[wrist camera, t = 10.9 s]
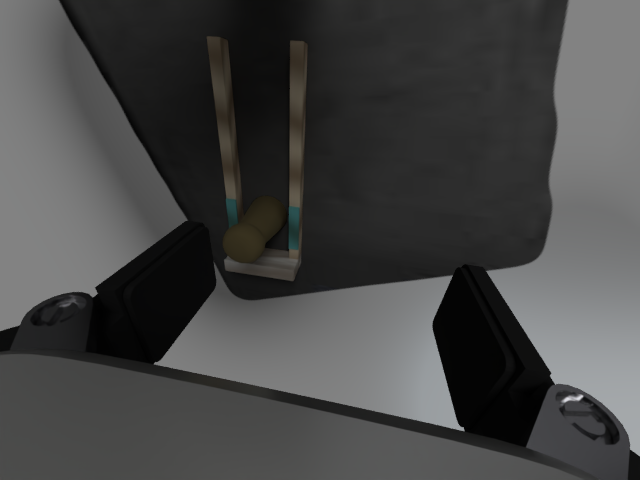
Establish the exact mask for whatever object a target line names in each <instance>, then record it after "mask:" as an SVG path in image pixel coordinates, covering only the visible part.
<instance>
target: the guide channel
mask: <svg viewBox="0 0 640 480" xmlns="http://www.w3.org/2000/svg"><path fill="white" fill-rule="evenodd" d="M207 44H208V52H209V60H210V68H211V76H212V84H213V92H214V100H215V109H216V117H217V125H218V133H219V141H220V149H221V157H222V165H223V174H224V182H225V190H226V206H227V214H228V222H229V228H230V227H231V226H233V225H236V224H238V223H240V221H241V220H242V218H243V216H244V212H243V201H242V190H241V179H240V168H239V157H238V146H237V135H236V124H235V113H234V102H233V91H232V80H231V69H230V58H229V47H228V40H226V39H224V38H221V37H210V36H207ZM307 49H308V44H307V43H305V42H304V41H290V189H289V251H284V250H277V249H270V248H265V249H264V251H263V253H262V255H261V257H259V258H258V259H257V260H256V261H254V262H251V263H239V262H236V261H234V260H232V259H231V258H230V257H229V256H227V258H226V259H225V260H224V262H225V269H226V271H231V272H238V273H244V274H251V275H257V276H264V277H270V278H277V279H283V280H289V281H294V279H295V276H296V274H297V271H298V269H299V266H300V264H301V242H302V210H303V178H304V146H305V114H306V81H307Z"/></svg>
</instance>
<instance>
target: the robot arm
mask: <svg viewBox="0 0 640 480" xmlns="http://www.w3.org/2000/svg"><path fill="white" fill-rule="evenodd" d="M215 286H216V276H215V269H214V263H213V256H212V249H211V243H210V236H209V230H208V228H206V227H205V226H204V224H203V223H199V222H193V221H185V222H184V223H182V224H181V225H180V226H178V227H177V228H176V229H174V230H173V231H172V232H170V233H169V234H167V235H166V236H165V237H163V238H162V239H161V240H159V241H158V242H157V243H155V244H154V245H153V246H151V247H150V248H148V249H147V250H146V251H144V252H143V253H142V254H140V255H139V256H137V257H136V258H135V259H133V260H132V261H131V262H129V263H128V264H127V265H125V266H124V267H122V268H121V269H120V270H118V271H117V272H116V273H114V274H113V275H112V276H110V277H109V278H107V279H106V280H105V281H103V282H102V283H101V284H99V285H98V286H97V287H95V288H96V290H97V293H98V294H97V295H96V296H95V297H93V298H92V297H91V296H90V295H89V294H87V293H83V292H72V293H66V294H61V295H58V296H55V297H52V298H50V299H47V300H45V301H43V302H41V303H40V304H38V305H36V306H35V307H33V308H32V309H31V310H30V311H29V312H28V313H27V314H26V315H25V316H24V318H23V320H22V322H21V324H20V326H17V327H13V328H10V329H6V330H3V331H0V480H640V456H638V455H637V454H635V453H634V452H633V451H631V450H630V442H629V437H628V434H627V432H626V431H625V429H624V427H623V425H622V424H621V423H620V421H619V420H618V419H617V418H616V416H615V415H614V414H613V413H612V412H611V411H610V410H609V409H608V408H606V407H605V406H604V405H603V404H602V403H601V402H599V401H598V400H596V399H595V398H593V397H592V396H591V395H589V394H587V393H585V392H583V391H582V390H580V389H578V388H574V387H572V386H569V385H563V384H556V385H555V384H554V382H553V381H552V379H551V377H550V374H551V372H550V371H549V369H548V368H547V366H546V364H545V363H544V361H543V360H542V358H541V357H540V355H539V353H538V352H537V350H536V349H535V347H534V346H533V344H532V342H531V341H530V339H529V338H528V336H527V335H526V333H525V332H524V330H523V328H522V327H521V325H520V324H519V322H518V321H517V319H516V317H515V316H514V314H513V313H512V311H511V310H510V308H509V306H508V305H507V303H506V302H505V300H504V299H503V297H502V296H501V294H500V292H499V291H498V289H497V288H496V286H495V285H494V283H493V282H492V280H491V278H490V277H489V275H488V274H487V272H486V271H485V269H484V268H483V267H479V266H473V265H466V264H465V265H463V266H462V267H461V268H459V267H458V268H457V269H456V270H455V272H454V275H453V277H452V280H451V281H450V284H449V286H448V288H447V290H446V293H445V295H444V297H443V300H442V302H441V304H440V306H439V309H438V311H437V313H436V315H435V317H434V320H433V332H434V336H435V339H436V343H437V347H438V351H439V354H440V358H441V362H442V365H443V370H444V373H445V377H446V381H447V384H448V388H449V392H450V396H451V400H452V403H453V407H454V410H455V414H456V418H457V421H458V424H459V425H460V426H461V427H464V430H465V432H464V431H459V430H456V429H451V428H447V427H443V426H439V425H434V424H430V423H425V422H420V421H416V420H412V419H407V418H402V417H398V416H394V415H389V414H384V413H380V412H375V411H371V410H366V409H362V408H357V407H352V406H348V405H343V404H339V403H334V402H329V401H325V400H320V399H315V398H310V397H306V396H301V395H297V394H291V393H287V392H283V391H278V390H273V389H269V388H263V387H259V386H254V385H249V384H245V383H240V382H236V381H230V380H226V379H221V378H216V377H211V376H207V375H202V374H197V373H192V372H187V371H183V370H178V369H173V368H168V367H163V366H158V365H154V363H155V362H158V361H159V360H161V359H162V358H163V356H164V355H165V353H166V352H167V351H168V349H169V348H170V347H171V346H172V344H173V343H174V342H175V340H176V339H177V338H178V336H179V335H180V334H181V332H182V331H183V330H184V329H185V327H186V326H187V325H188V323H189V322H190V321H191V319H192V318H193V317H194V315H195V314H196V313H197V311H198V310H199V309H200V307H201V306H202V305H203V303H204V302H205V301H206V300H207V298H208V297H209V296H210V294H211V293H212V292H213V291H214V289H215Z"/></svg>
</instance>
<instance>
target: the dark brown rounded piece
mask: <svg viewBox="0 0 640 480" xmlns="http://www.w3.org/2000/svg"><path fill="white" fill-rule="evenodd" d="M286 222H287V212H286V209H285V207H284V205H283V204H282V203H281V202H280V201H279V200H277V199H276V198H274V197H270V196H261V197H258V198H256V199H255V200H254V201H253V202H252V204H251V205H250V207H249V208H248V210H247V212H246V213H245V215H244V216H243V218H242V220H241V221H240V223H238V224H236V225H233V226H231V227H230V228H229V229H228V230H227V231H226V232H225V235H224V237H223V248H224V251H225V253H226V254H227V255H228V256H229V257H230V258H231V259H232V260H234V261H236V262H239V263H251V262H254V261H256V260H257V259H258V258H259V257H261V255H262V253H263V251H264V249H265V243H266V242H267V241H268V240H270V239H271V238H272V237H273V236H274V235H275V234H276V233H277V232H278V231H279V230H280V229H281V228H282V227H283V226H284V225H285V223H286Z"/></svg>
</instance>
